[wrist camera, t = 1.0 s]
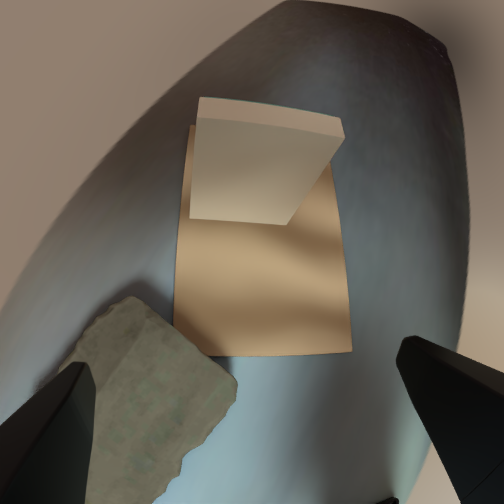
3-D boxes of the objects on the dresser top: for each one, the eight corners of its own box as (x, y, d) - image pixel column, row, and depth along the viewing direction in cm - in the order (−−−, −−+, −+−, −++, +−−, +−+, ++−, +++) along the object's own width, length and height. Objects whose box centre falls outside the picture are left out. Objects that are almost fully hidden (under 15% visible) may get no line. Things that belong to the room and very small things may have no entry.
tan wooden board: (349, 351, 21) (352, 351, 21) (172, 354, 19) (172, 354, 19) (324, 144, 28) (326, 141, 27) (189, 127, 25) (190, 124, 25)
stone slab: (242, 378, 20) (121, 284, 19) (255, 384, 17) (116, 277, 17) (85, 567, 12) (-19, 492, 11) (81, 585, 9) (-33, 505, 8)
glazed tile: (286, 225, 23) (345, 138, 14) (189, 218, 22) (196, 117, 13) (284, 205, 24) (338, 114, 15) (191, 197, 23) (200, 92, 13)
